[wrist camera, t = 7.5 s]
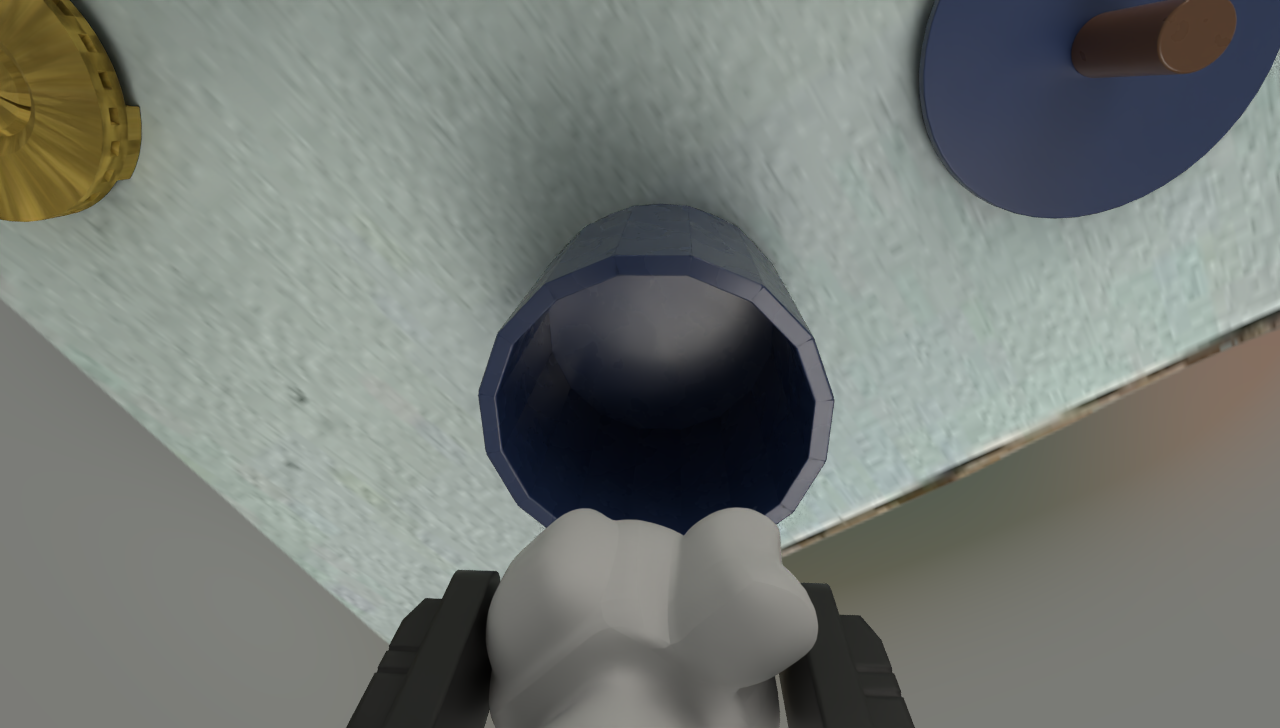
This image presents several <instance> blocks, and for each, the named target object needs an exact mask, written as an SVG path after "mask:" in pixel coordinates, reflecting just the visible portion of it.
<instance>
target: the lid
mask: <svg viewBox="0 0 1280 728" xmlns="http://www.w3.org/2000/svg"><path fill="white" fill-rule="evenodd" d="M1279 49H1280V0H935V2H934V5H933V8H932V11H931V14H930V17H929V19H928V22H927V26H926V31H925V35H924V40H923V44H922V49H921V59H920V69H919V91H920V102H921V108H922V114H923V119H924V122H925V126H926V129H927V132H928V136H929V138H930V140H931V143H932V145H933V147H934V149H935V151H936V153H937V155H938V157H939V158H940V160H941V161H942V163H943V164H944V166H945V167H946V168H947V170H948V171H949V172H950V173H951V175H952V176H953V177H954V178H955V179H956V180H957V181H958V182H959V183H960V184H961V185H962V186H963V187H965V188H966V189H967V190H969V191H970V192H971V193H972V194H974V195H975V196H977V197H978V198H980V199H982V200H984V201H986V202H987V203H989V204H991V205H993V206H996V207H999V208H1002V209H1004V210H1007V211H1010V212H1013V213H1016V214H1021V215H1026V216H1031V217H1038V218H1054V219H1056V218H1072V217H1080V216H1085V215H1091V214H1096V213H1100V212H1103V211H1107V210H1110V209H1113V208H1117V207H1120V206H1122V205H1125V204H1127V203H1129V202H1132V201H1134V200H1137V199H1139V198H1141V197H1143V196H1145V195H1147V194H1149V193H1151V192H1153V191H1154V190H1156V189H1158V188H1160V187H1162V186H1164V185H1165V184H1167V183H1168V182H1170V181H1171V180H1173V179H1174V178H1176V177H1177V176H1179V175H1180V174H1181V173H1183V172H1184V171H1186V170H1187V169H1188V168H1189V167H1191V166H1192V165H1193V164H1194V163H1196V162H1197V161H1198V160H1199V159H1200V158H1202V157H1203V156H1204V155H1205V154H1206V153H1207V152H1208V151H1209V150H1210V149H1211V148H1212V147H1213V146H1214V145H1215V144H1216V143H1217V142H1218V141H1219V140H1220V139H1221V138H1222V137H1223V136H1224V135H1225V134H1226V133H1227V132H1228V131H1229V130H1230V128H1231V127H1232V126H1233V125H1234V124H1235V122H1236V121H1237V120H1238V119H1239V118H1240V116H1241V115H1242V114H1243V112H1244V111H1245V110H1246V108H1247V107H1248V105H1249V104H1250V102H1251V101H1252V100H1253V98H1254V97H1255V95H1256V94H1257V92H1258V91H1259V89H1260V87H1261V85H1262V83H1263V82H1264V80H1265V78H1266V76H1267V74H1268V73H1269V71H1270V69H1271V67H1272V65H1273V62H1274V60H1275V58H1276V55H1277V53H1278V51H1279Z"/></svg>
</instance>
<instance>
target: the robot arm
mask: <svg viewBox="0 0 1280 728" xmlns="http://www.w3.org/2000/svg"><path fill="white" fill-rule="evenodd" d="M499 584H500V576H499V573H498V572H497V571H476V570H457V571H456V572H455V573H454V575H453V577H452V579H451V581H450V583H449V585H448V587H447V589H446V592H445V594H444V596H443V598H442V599H433V598H425V599H424V600H423V601H422V602H421V603H420V604H419V605H418V606H417V607H416V608H415V609H414V610H413V611H412V612H410V613H409V614H408V615H407V616H406V617H405V618H404V619H403V620H402V622H401V624H400V626H399V628H398V630H397V632H396V634H395V636H394V637H393V639H392V641H391V643H390V645H389V650H388V651H386V653H385V655H384V657H383V658H382V660H381V662H380V664H379V666H378V671H377V673H375V674H374V676H373V677H372V679H371V681H370V683H369V685H368V687H367V689H366V691H365V693H364V695H363V697H362V698H361V700H360V702H359V704H358V706H357V708H356V710H355V712H354V714H353V715H352V718H351V719H350V721H349V723H348V725H347V727H346V728H484V726H485V723H486V720H487V716H488V713H489V710H490V709H489V689H490V679H491V673H492V667H491V664H490V660H489V656H488V652H487V646H486V624H487V617H488V612H489V608H490V605H491V601H492V598H493V596H494V594H495V592H496V590H497V588H498V586H499ZM800 584H801V585H802V586H803V587H804V589H805V590H806V592H807V594H808V596H809V598H810V600H811V602H812V604H813V606H814V608H815V611H816V616H817V621H818V634H817V640H816V642H815V644H814V646H813V648H812V649H811V650H810V651H809V652H808V653H807V654H806V655H805V656H803V657H802V658H801V659H799V660H798V661H797V662H795V663H794V664H792V665H791V666H789V667H788V668H787V669H785V670H784V671H782V672H780V673H779V676H780V683H781V688H782V694H783V699H784V705H785V710H786V716H787V722H788V727H789V728H915V727H914V725H913V722H912V719H911V716H910V714H909V711H908V709H907V706H906V703H905V701H904V698H903V697H901V690H900V688H899V685H898V682H897V680H896V677H895V675H894V674H893V673H892V667H891V664H890V661H889V659H888V656H887V654H886V651H885V648H884V646H883V643H882V641H881V639H880V638H879V637H878V636H877V635H876V633H875V632H874V631H873V630H872V629H871V627H870V626H869V625H868V624H867V623H866V622H865V621H864V619H863V618H862V617H861V616H858V615H839V613H838V609H837V607H836V603H835V600H834V597H833V594H832V591H831V588H830V586H829V585H828V584H819V583H800Z"/></svg>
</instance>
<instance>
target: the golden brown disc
mask: <svg viewBox="0 0 1280 728" xmlns="http://www.w3.org/2000/svg"><path fill="white" fill-rule="evenodd" d="M140 144H141V118H140V109H139V107H136V106H130V105H125V102H124V98H123V93H122V89H121V87H120V84H119V81H118V78H117V75H116V72H115V70H114V68H113V66H112V63H111V61H110V59H109V57H108V55H107V53H106V51H105V49H104V48H103V46H102V44H101V42H100V41H99V39H98V37H97V35H96V34H95V32H94V31H93V30H92V28H91V27H90V25H89V24H88V22H87V21H86V20H85V18H84V17H83V16H82V14H81V13H80V12H79V11H78V10H77V8H76V7H75V6H74V5H73V4H72V2H71V1H70V0H0V219H1V220H7V221H20V222H29V221H38V220H44V219H49V218H55V217H60V216H65V215H69V214H73V213H77V212H80V211H82V210H85V209H87V208H89V207H91V206H93V205H94V204H96V203H97V202H98V201H100V200H101V199H102V198H103V197H104V196H105V195H106V194H107V193H108V192H109V191H110V190H111V189H112V187H113V186H114V184H115V183H116V181H117V180H124V179H130V177H131V175H132V173H133V171H134V169H135V167H136V163H137V160H138V156H139V152H140Z"/></svg>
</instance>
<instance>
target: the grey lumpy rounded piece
mask: <svg viewBox="0 0 1280 728" xmlns="http://www.w3.org/2000/svg"><path fill="white" fill-rule="evenodd" d="M817 634H818V621H817V616H816V611H815V608H814V606H813V604H812V602H811V600H810V598H809V596H808V594H807V592H806V590H805V589H804V587H803V586H802V585H801V584H800V582H799V581H798V580H797V579H796V578H795V577H794V576H793V574H792V573H791V572H790V571H788V569H786V568H785V567H784V566H783V565H782V556H781V542H780V532H779V528H778V527H777V525H776V524H775V523H774V522H773V521H772V520H770V519H769V518H768V517H766V516H765V515H763V514H761V513H759V512H757V511H754V510H752V509H748V508H738V507H736V508H727V509H723V510H719V511H717V512H714V513H712V514H710V515H708V516H707V517H705V518H703V519H702V520H700V521H699V522H697V523H696V524H695V525H693V526H692V527H691V528H690V529H689V530H688V531H687V532H686V534H685V535H684V536H683V535H682V534H680V533H678V532H676V531H674V530H672V529H669V528H667V527H664V526H661V525H658V524H654V523H650V522H646V521H641V520H617V521H616V520H611V519H610V518H608V517H606V516H605V515H603V514H602V513H600V512H598V511H596V510H593V509H584V508H582V509H576V510H572V511H570V512H568V513H566V514H564V515H563V516H561V517H560V518H558V519H557V520H555V521H554V522H553V523H552V524H551V525H549V526H548V527H547V528H546V529H545V530H544V531H543V532H542V533H541V534H540V535H538V536H537V537H536V538H535V539H534V540H533V541H532V542H531V543H530V544H529V545H527V546H526V547H525V548H524V549H523V550H522V551H521V552H520V553H519V554H518V555H517V556H516V557H515V559H514V560H513V561H512V562H511V564H510V565H509V567H508V569H507V570H506V572H505V574H504V576H503V578H502V580H501V582H500V584H499V586H498V588H497V590H496V592H495V594H494V596H493V598H492V601H491V605H490V608H489V612H488V617H487V624H486V646H487V652H488V656H489V660H490V664H491V667H492V673H491V679H490V689H489V709H490V714H491V718H492V720H493V723H494V725H495V728H779V725H780V710H779V700H778V691H777V686H776V680H775V675H777V674H779V673H780V672H782V671H784V670H785V669H787V668H788V667H789V666H791V665H792V664H794V663H795V662H797V661H798V660H799V659H801V658H802V657H803V656H805V655H806V654H807V653H808V652H809V651H810V650H811V649H812V648H813V646H814V644H815V642H816V640H817Z"/></svg>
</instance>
